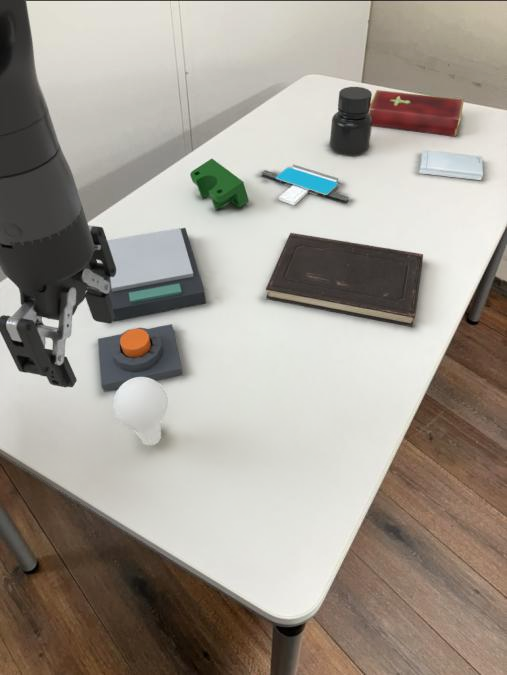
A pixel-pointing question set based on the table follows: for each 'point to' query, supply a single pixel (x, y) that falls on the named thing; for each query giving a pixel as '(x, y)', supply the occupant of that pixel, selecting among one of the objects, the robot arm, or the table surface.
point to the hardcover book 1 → (347, 278)
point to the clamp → (219, 184)
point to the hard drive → (451, 165)
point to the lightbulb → (141, 407)
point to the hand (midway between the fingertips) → (86, 350)
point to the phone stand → (305, 184)
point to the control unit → (139, 359)
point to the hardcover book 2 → (416, 112)
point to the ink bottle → (352, 122)
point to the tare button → (135, 343)
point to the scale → (154, 274)
